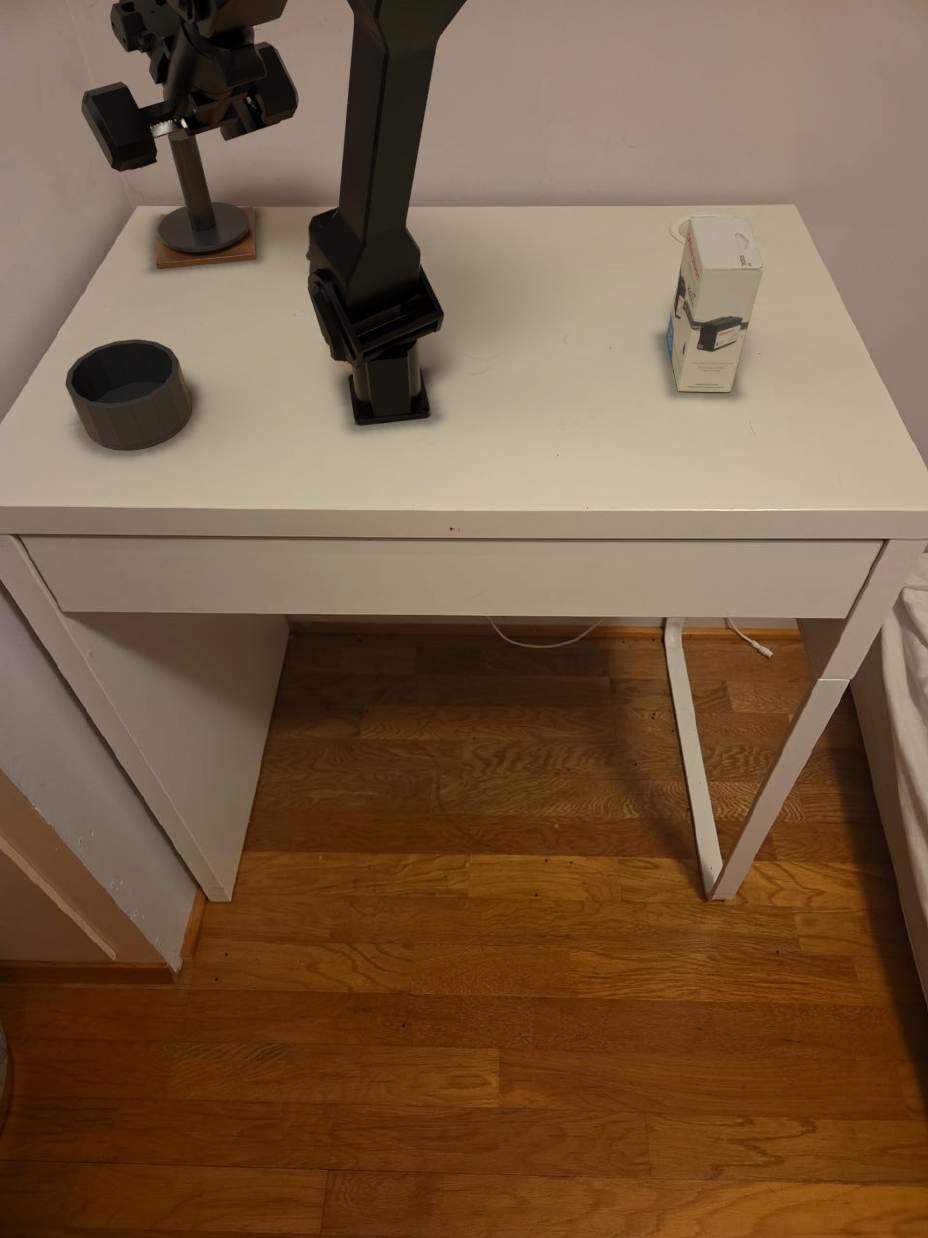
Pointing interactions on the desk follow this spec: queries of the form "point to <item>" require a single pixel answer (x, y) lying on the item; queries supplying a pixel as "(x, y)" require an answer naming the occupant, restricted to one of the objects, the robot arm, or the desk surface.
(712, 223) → the ink box
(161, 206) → the desk surface
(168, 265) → the plate
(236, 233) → the lid
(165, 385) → the bowl
